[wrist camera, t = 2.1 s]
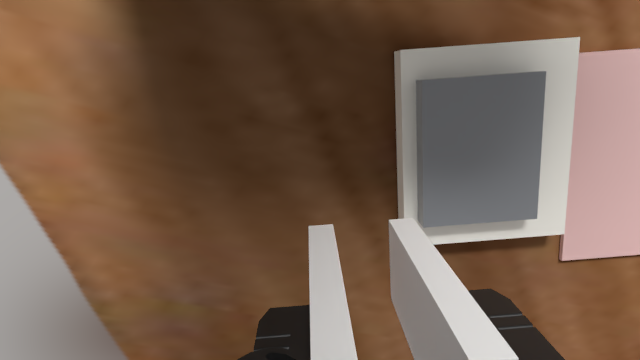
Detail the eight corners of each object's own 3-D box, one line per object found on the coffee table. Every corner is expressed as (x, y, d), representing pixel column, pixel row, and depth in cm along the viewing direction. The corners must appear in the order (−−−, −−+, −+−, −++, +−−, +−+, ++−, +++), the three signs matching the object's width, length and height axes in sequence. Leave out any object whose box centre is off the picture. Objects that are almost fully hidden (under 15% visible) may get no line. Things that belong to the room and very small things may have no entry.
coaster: (415, 79, 28) (421, 80, 26) (533, 71, 28) (546, 71, 26) (417, 220, 30) (423, 227, 29) (526, 211, 30) (537, 218, 29)
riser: (394, 51, 29) (400, 49, 27) (562, 39, 29) (580, 37, 27) (398, 236, 33) (404, 246, 31) (549, 224, 33) (564, 234, 31)
